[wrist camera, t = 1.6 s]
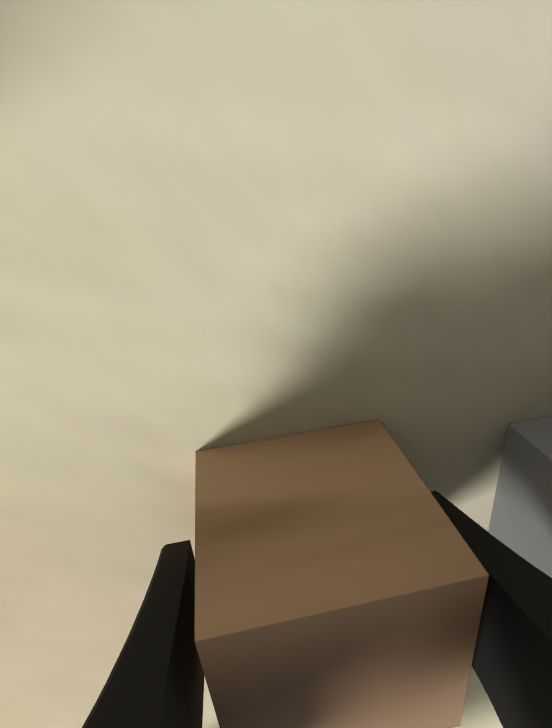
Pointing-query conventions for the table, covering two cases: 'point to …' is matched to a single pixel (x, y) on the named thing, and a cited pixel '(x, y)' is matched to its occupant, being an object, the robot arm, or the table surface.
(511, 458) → the charcoal base block
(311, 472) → the walnut cube
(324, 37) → the table surface
